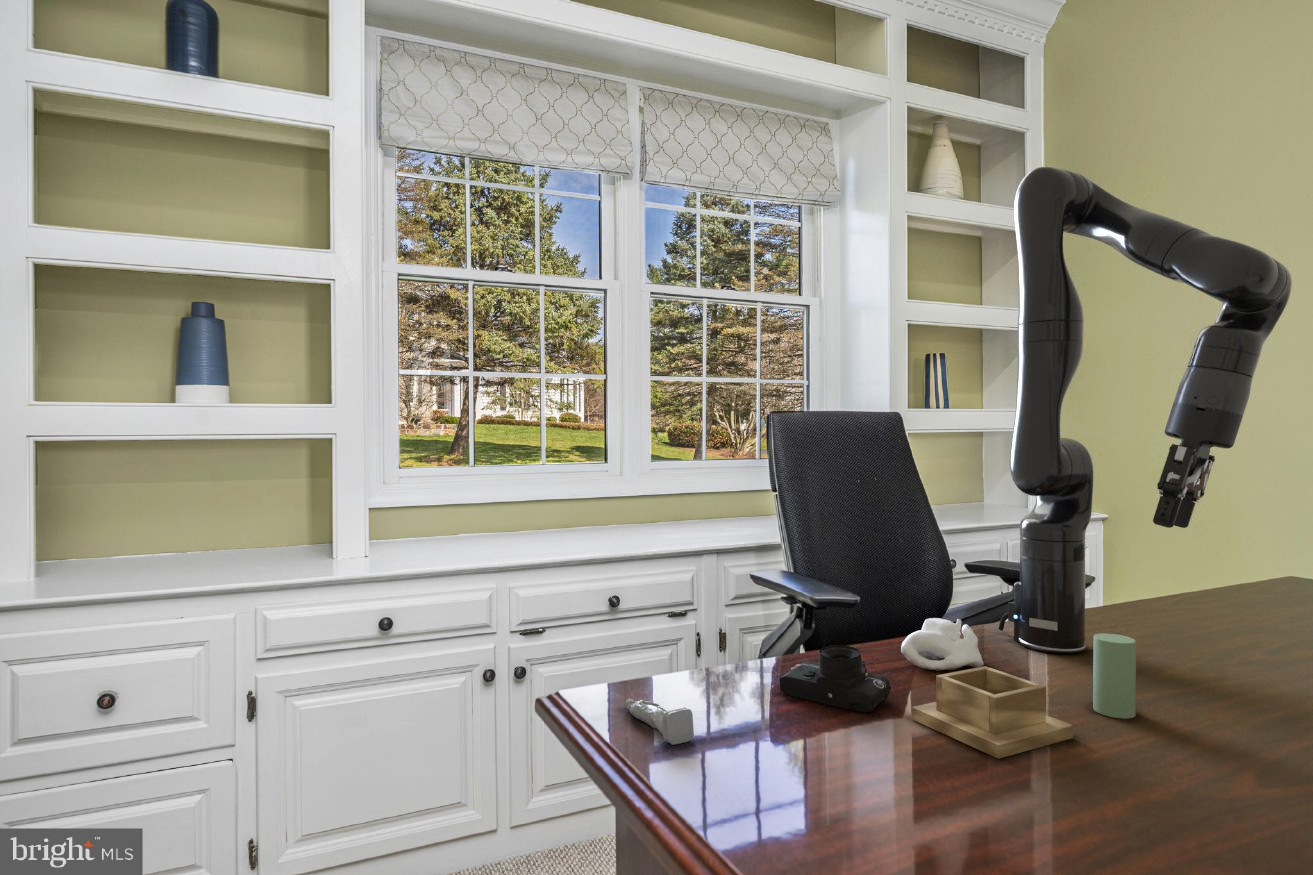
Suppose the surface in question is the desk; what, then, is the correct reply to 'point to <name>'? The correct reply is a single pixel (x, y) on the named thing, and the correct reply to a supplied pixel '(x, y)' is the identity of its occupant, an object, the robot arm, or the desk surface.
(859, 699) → the film camera
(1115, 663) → the green tall cylinder
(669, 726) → the figurine
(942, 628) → the white looped sculpture
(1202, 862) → the desk surface
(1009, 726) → the display stand
